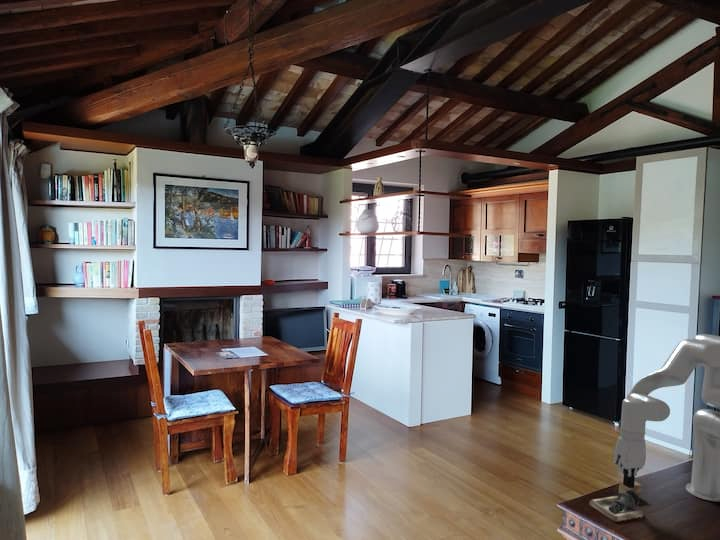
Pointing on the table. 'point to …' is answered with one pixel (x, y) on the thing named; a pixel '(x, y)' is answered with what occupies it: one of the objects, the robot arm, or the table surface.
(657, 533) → the table surface
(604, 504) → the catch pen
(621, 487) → the oak block
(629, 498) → the grey chess piece
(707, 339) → the robot arm
